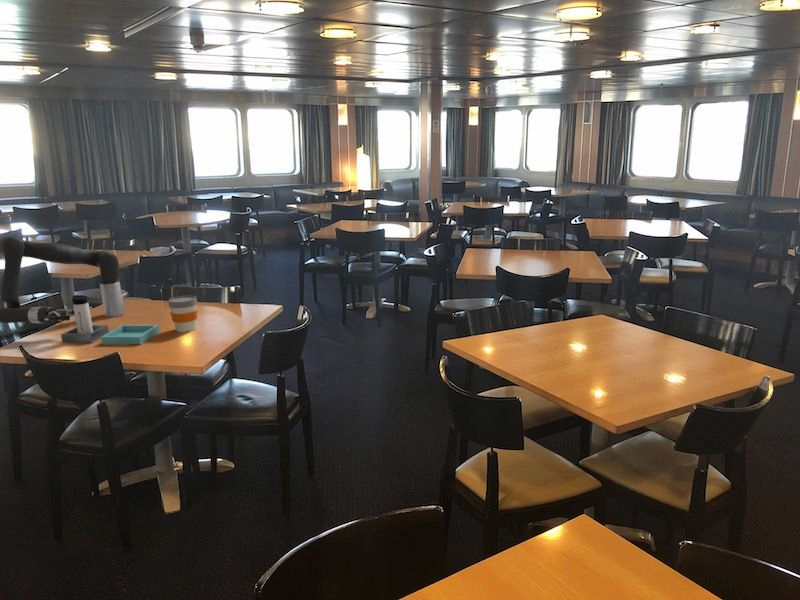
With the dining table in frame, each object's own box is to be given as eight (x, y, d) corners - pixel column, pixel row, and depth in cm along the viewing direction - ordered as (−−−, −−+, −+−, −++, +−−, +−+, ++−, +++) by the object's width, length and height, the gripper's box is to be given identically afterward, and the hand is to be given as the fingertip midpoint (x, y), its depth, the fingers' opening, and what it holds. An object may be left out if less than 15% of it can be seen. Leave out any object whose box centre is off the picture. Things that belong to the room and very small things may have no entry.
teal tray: (123, 332, 291) (122, 324, 290) (160, 332, 289) (159, 324, 288) (101, 344, 273) (100, 337, 273) (140, 344, 272) (139, 337, 271)
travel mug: (88, 335, 288) (81, 293, 283) (96, 337, 284) (90, 295, 279) (75, 339, 282) (68, 296, 277) (84, 341, 279) (76, 298, 274)
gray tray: (81, 333, 291) (79, 325, 290) (109, 333, 289) (107, 325, 288) (62, 342, 277) (60, 334, 276) (91, 343, 276) (90, 334, 275)
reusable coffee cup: (191, 334, 284) (187, 302, 280) (166, 333, 287) (162, 302, 283) (205, 326, 296) (201, 295, 292) (181, 325, 299) (177, 295, 295)
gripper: (30, 311, 275) (64, 311, 273) (50, 303, 289) (83, 302, 287) (33, 327, 277) (67, 327, 275) (53, 318, 291) (86, 318, 289)
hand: (75, 315), depth 281 cm, fingers open, 8 cm apart
